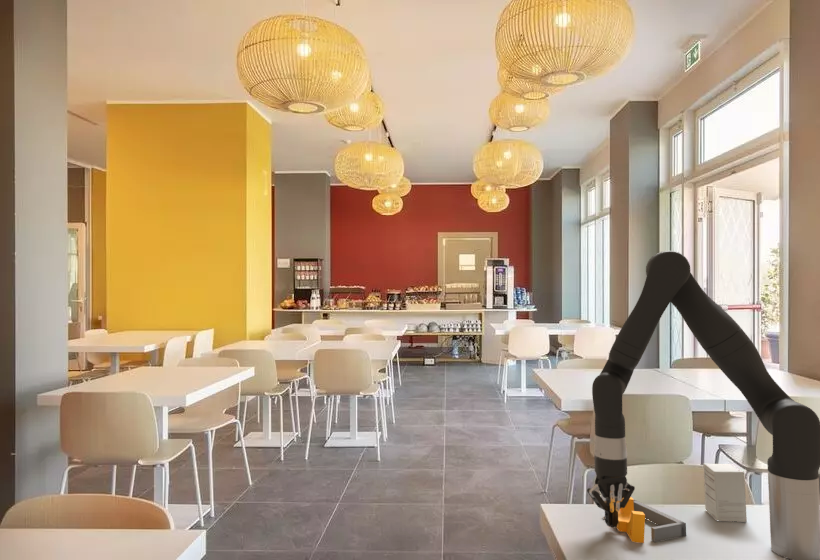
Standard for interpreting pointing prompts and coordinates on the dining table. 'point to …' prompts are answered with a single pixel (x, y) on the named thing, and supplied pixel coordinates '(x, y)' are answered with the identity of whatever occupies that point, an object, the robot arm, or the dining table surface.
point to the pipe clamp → (631, 522)
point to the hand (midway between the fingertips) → (611, 526)
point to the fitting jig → (661, 523)
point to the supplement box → (725, 492)
